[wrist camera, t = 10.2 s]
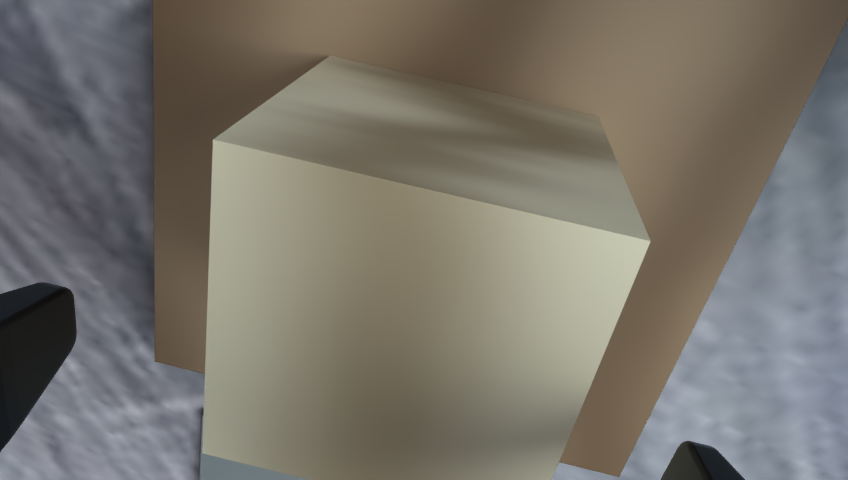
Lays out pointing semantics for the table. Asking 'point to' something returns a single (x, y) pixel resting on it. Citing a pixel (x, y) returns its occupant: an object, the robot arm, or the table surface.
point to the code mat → (235, 469)
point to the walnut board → (529, 80)
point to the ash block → (410, 279)
